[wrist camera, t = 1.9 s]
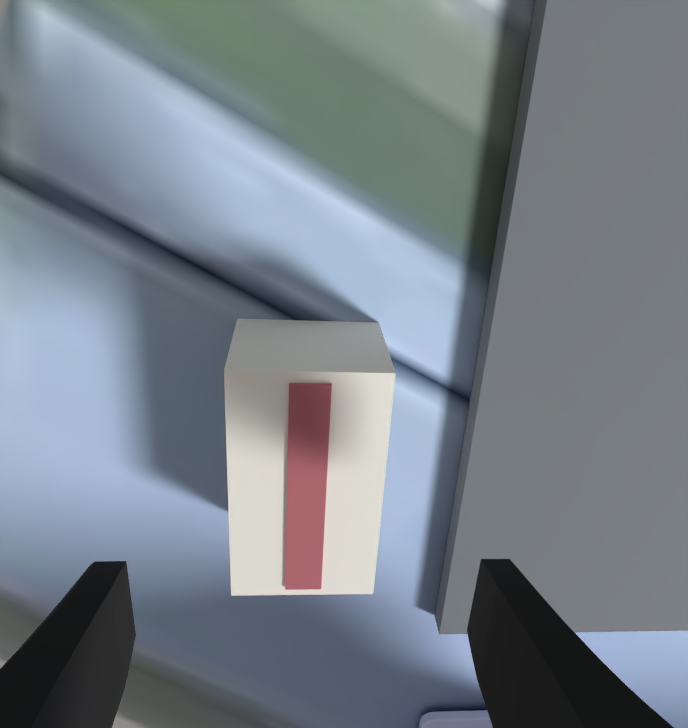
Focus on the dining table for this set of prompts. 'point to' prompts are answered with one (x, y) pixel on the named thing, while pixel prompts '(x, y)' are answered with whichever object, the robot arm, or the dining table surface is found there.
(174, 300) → the dining table surface
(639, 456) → the slate mat
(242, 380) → the white rectangular block
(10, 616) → the dining table surface
